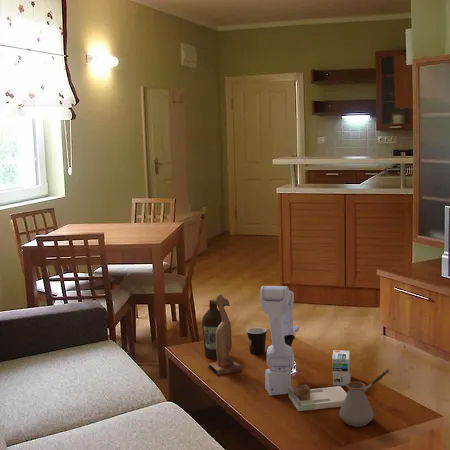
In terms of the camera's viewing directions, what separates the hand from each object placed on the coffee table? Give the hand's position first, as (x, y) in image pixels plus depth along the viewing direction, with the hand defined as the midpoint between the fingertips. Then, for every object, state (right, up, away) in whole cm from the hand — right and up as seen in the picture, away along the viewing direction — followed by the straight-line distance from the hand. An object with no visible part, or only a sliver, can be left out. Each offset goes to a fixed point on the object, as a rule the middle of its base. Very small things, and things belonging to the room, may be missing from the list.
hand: (286, 353), depth 269 cm
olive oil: (-29, -7, +29) cm, 41 cm away
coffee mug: (-10, -5, +32) cm, 34 cm away
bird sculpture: (-25, -9, +11) cm, 29 cm away
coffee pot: (+24, -15, -39) cm, 48 cm away
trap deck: (+10, -13, -24) cm, 29 cm away
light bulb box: (+21, -10, -6) cm, 24 cm away
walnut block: (+3, -11, -26) cm, 28 cm away
